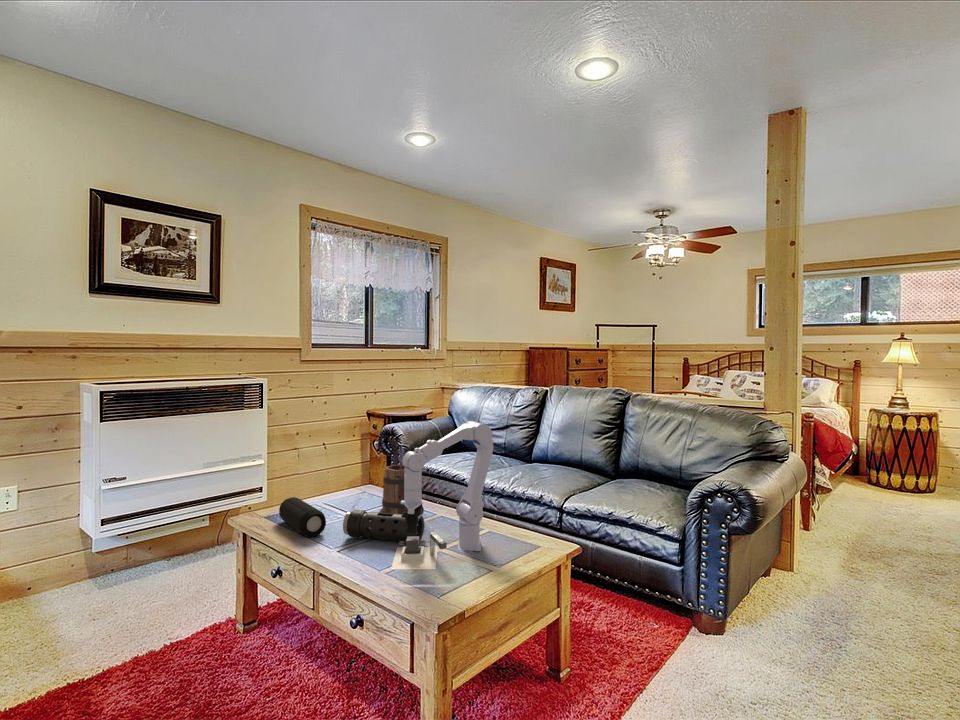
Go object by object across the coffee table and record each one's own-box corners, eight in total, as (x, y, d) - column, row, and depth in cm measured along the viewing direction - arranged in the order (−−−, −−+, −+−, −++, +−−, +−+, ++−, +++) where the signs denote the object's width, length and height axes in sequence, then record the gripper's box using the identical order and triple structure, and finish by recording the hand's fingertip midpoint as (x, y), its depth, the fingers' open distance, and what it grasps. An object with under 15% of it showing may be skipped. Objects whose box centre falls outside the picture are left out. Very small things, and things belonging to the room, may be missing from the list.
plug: (399, 554, 175) (399, 536, 175) (419, 553, 176) (419, 536, 176) (398, 559, 171) (398, 540, 171) (418, 558, 172) (418, 540, 172)
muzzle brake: (416, 549, 182) (416, 519, 181) (341, 542, 187) (341, 514, 187) (424, 539, 191) (424, 511, 191) (353, 533, 197) (353, 506, 196)
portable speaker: (328, 535, 194) (328, 508, 194) (302, 541, 188) (302, 514, 188) (301, 517, 214) (301, 493, 213) (276, 523, 207) (276, 498, 207)
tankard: (368, 514, 218) (368, 467, 217) (400, 505, 230) (400, 460, 230) (405, 528, 202) (405, 476, 202) (437, 517, 215) (437, 469, 214)
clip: (440, 568, 164) (440, 543, 163) (428, 554, 174) (428, 531, 174) (446, 567, 164) (446, 542, 164) (434, 553, 175) (434, 530, 175)
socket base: (397, 548, 181) (397, 541, 181) (437, 548, 182) (437, 541, 182) (390, 571, 163) (390, 563, 163) (435, 570, 164) (435, 562, 164)
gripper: (403, 482, 180) (403, 521, 180) (398, 494, 166) (398, 536, 166) (423, 482, 180) (423, 521, 181) (420, 494, 166) (420, 536, 166)
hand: (412, 528), depth 173 cm, fingers open, 6 cm apart
